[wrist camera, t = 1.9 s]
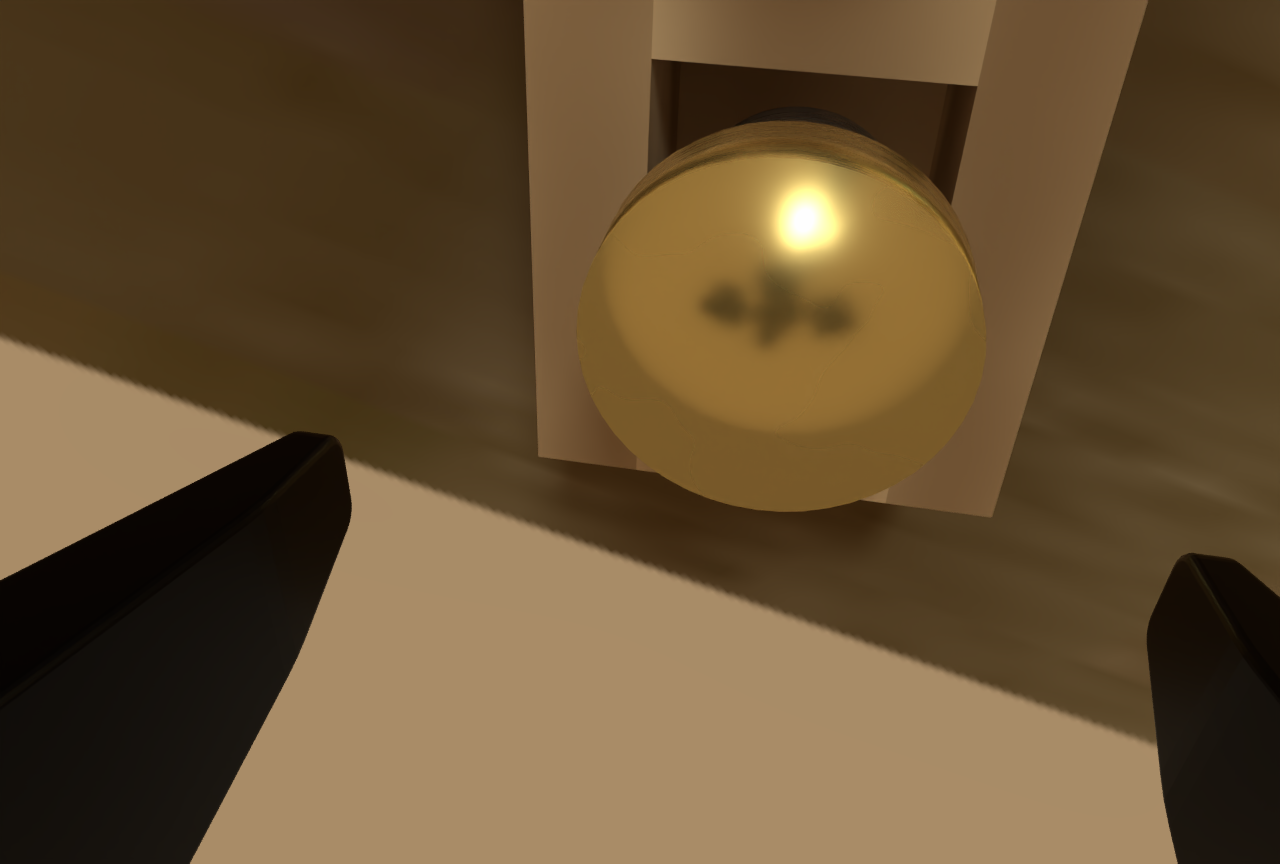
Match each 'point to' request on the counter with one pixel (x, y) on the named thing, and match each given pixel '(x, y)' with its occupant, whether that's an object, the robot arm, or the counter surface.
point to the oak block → (864, 93)
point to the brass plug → (784, 316)
